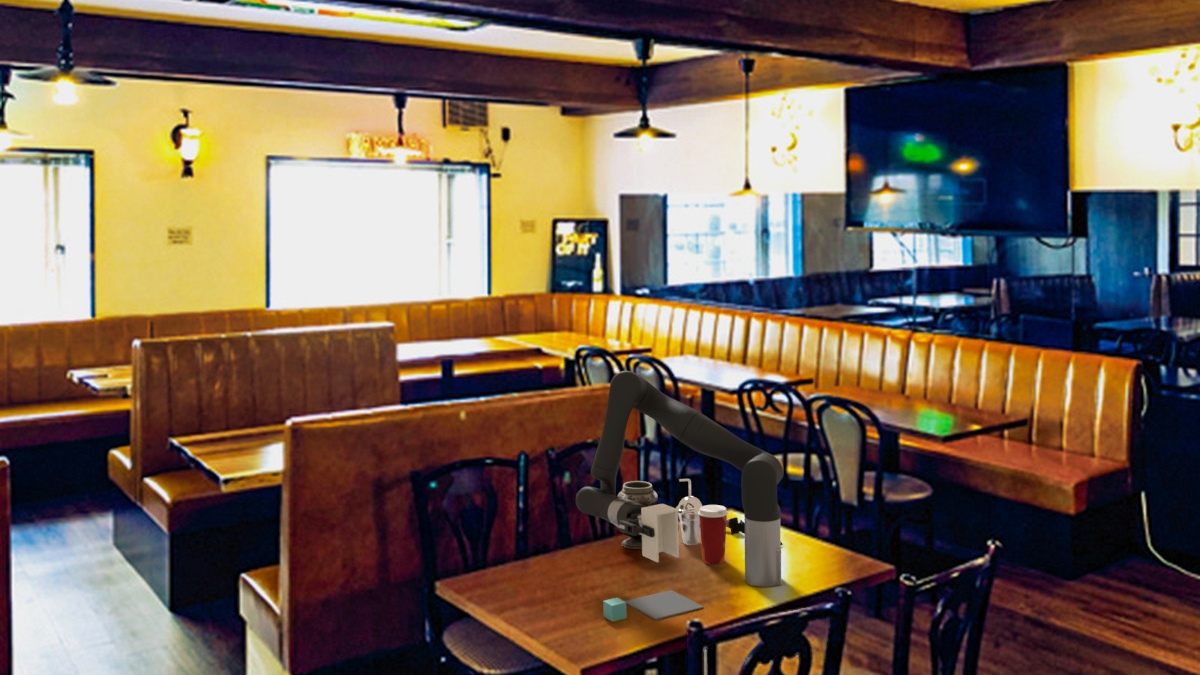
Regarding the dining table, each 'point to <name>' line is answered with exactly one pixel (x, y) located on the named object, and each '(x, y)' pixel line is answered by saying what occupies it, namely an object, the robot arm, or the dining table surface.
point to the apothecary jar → (642, 495)
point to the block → (614, 609)
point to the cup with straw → (689, 517)
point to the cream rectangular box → (660, 531)
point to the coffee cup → (713, 533)
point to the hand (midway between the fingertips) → (665, 530)
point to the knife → (737, 526)
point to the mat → (663, 604)
